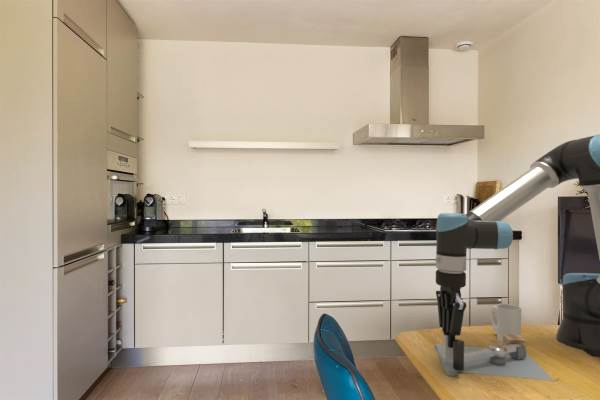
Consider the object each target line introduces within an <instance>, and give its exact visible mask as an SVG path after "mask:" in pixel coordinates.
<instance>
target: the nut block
mask: <svg viewBox="0 0 600 400" xmlns="http://www.w3.org/2000/svg"><path fill="white" fill-rule="evenodd" d="M516 343H518V344H521V345H523V346H526V347H527V340H526V339H525V338H523V336H520V335H510V334H503V342H502V346H505V345H511V344H516ZM507 354H508V355H510V353H507Z"/></svg>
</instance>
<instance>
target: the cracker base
mask: <svg viewBox="0 0 600 400" xmlns="http://www.w3.org/2000/svg"><path fill="white" fill-rule="evenodd" d="M434 347H435V348H434V349H435V351H436V353H437V356H438V358H439V360H440V362H441V363H440V364H441V365H442V367H443V370H444V372H445V375H446V376H449V377H450V376H452V377H460V375H459V373H470V374H479V375H486V376H487V375H489V376H498V377H499V376H500V377H507V378H508V377H509V378H518V379H527V380H528V379H530V380H541V381H550V382H551V381H552V382H555V380H554V379H553V378H552V377H551V376H550V375H549V373H547V372H546V371H545V370H544V369H543V368H542V367H541V366H540V365H539V364H538V362H536V360H534V359H533V358H532V357H531V356H530V355H529V354H528V353H527V352H526V358H522V359H516V358H514V357H511V356H510V355H508V354H507V357H506V358H496V357H488V358H483V359H478V360H474V361H469V362H464V370H462V371H459V370H455V369H454V368H453V359H445V358H444V357H443V343H441V344H440V343H435V345H434ZM483 349H488V347H478V346H477V347H476V346H467V345H466V346H465V345H464V353H468V352H473V351H478V350H483Z"/></svg>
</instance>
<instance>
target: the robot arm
mask: <svg viewBox="0 0 600 400" xmlns="http://www.w3.org/2000/svg"><path fill="white" fill-rule="evenodd" d="M576 179H577V180H578V184H579V185H578V186H579V187H581V188H582V189H583V190H585V191H586V192H587V196H588V202H589V203H588V204H589V209H590V213H591V218H592V224H593V229H594V236H595V241H596V247H597V253H598V257H599V260H600V133H599V134H596V135H591V136H586V137H583V138H578V139H571V140H568V141H566V142H564V143H561V144H559V145H557V146H555V147H554V148H553V149H552V150H550V151H548V152H546V153H545V154H544V155H542V156H541V157H540V158H538V159H536V160H535V161H534V162H532V163H531V164H530V166H529V169H528V170H527V171H525V172H523V173H522V174H521V175H520V176H518V177H516V178H515V179H514V180H513V181H511V182H510V183H508V184H507V185H505V186H504V187H502V188H501V189H500V190H498V191H497V192H495V193H494V194H493V195H491V196H490V197H489V198H487V199H486V200H484V201H483V202H481V203H480V204H478V205H477V206H475V207H474V208H473V209H471V210H470V211H468V212H466V213H456V212H454V213H452V212H451V213H450V212H444V213H439V214H438V216H437V219H436V229H435V231H436V249H435V250H436V251H435V252H436V256H435V257H436V258H434V261H435V268H436V269H437V270H436V271H435V283H436V285H438V286H439V287H440V288H439V290H436V291H435V296H436V300H437V312H438V323H439V328H441V330H442V332H443V336H442V337H443V342H442V344H443V357H444V358H445V359H453V340H454V339H456V336H461V334H462V333H461V332H462V328H463V327H462V326H463V320H464V315H465V310H466V308H467V302H462V299H461V298H462V294H461V293H462V292H461V289H462V288H465V287H466V284H467V282H466V281H467V273H466V272H465V271H467V250H471V249H473V250H475V249H477V250H479V249H482V250H499V249H500V250H503V249H508V248H509V247H510V246H511V245H512V243H513V240H514V236H513V235H514V233H513V232H514V231H513V228H512V227H511V225H510V224H509V223H508V222H506V221H503V219H505V218H507V217H508V216H509V215H511V214H512V213H514V212H515V211H517V210H518V209H520V208H521V207H523V206H524V205H525V204H526V203H527V204H528V203H529V201H531V200H532V199H534V198H535V197H537V196H538V195H540V194H541V193H542V192H544V191H546V190H547V189H552V188H553V189H554V188H555V187H557V186H559V185H560V184H562V183H564V182H567V181H570V180H576ZM561 287H562V288H561V289H562V291H561V292H562V320H561V322H560V324H559V327H558V328H557V331H556V335H555V339H556V340H557V342H559V343H561V344H563V345H565V346H567V347H571V348H574V349H577V350H581V351H583V352H585V353H586V354H588V356H589V355H590V356H595V357H596V356H599V357H600V273H595V272H594V273H591V272H569V273H566V274H565V273H564V275H563V277H562V283H561Z"/></svg>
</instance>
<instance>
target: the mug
mask: <svg viewBox="0 0 600 400" xmlns="http://www.w3.org/2000/svg"><path fill="white" fill-rule="evenodd" d="M495 314H496V321H495ZM489 315H490V316H489V317H490V323H491V326H492V330H493V332H494V331H495V332H496V335H497V337H496V338H497V341H499V342H500V343H503V334H510V335H520V336H521V332H522V331H521V330H522V328H521V327H522V307H520V306H519V305H515V304H511V303H509V304H508V303H498V304H496V305H493V306H492V309H491V311H490V314H489ZM521 337H522V336H521Z"/></svg>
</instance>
